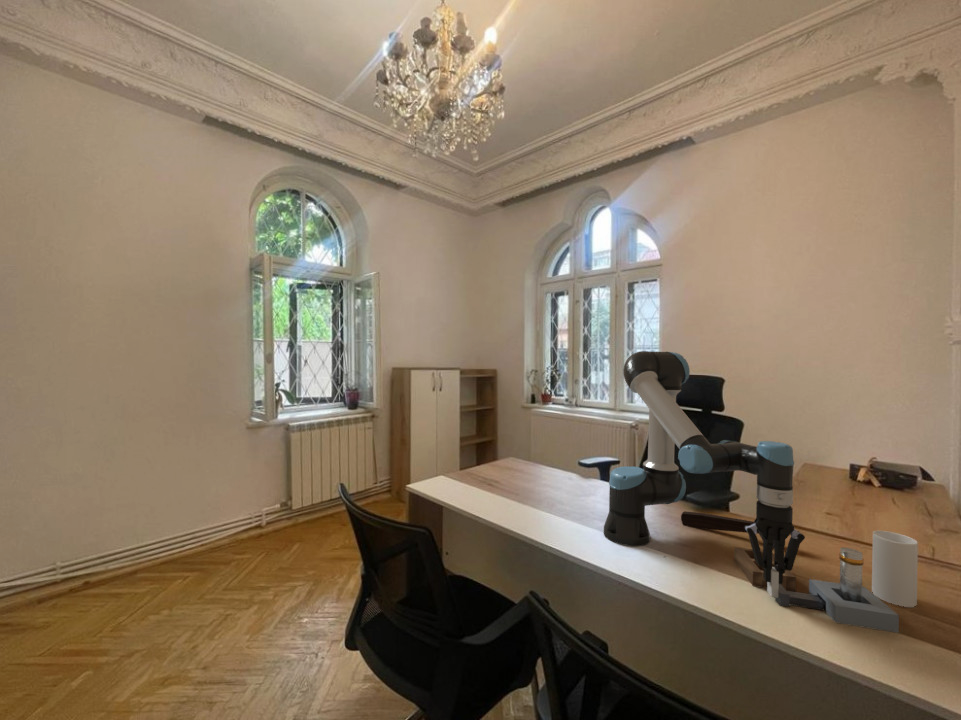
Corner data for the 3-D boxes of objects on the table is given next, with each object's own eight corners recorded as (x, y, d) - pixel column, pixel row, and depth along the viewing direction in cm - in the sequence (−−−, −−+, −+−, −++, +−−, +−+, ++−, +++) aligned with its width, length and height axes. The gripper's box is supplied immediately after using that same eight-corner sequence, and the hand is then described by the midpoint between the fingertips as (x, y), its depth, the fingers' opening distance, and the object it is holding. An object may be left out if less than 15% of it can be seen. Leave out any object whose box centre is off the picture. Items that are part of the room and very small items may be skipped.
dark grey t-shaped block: (780, 605, 100) (780, 593, 100) (771, 594, 105) (771, 582, 105) (827, 612, 98) (828, 600, 98) (816, 601, 102) (817, 589, 102)
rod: (845, 615, 97) (845, 553, 97) (834, 605, 101) (835, 546, 101) (867, 619, 96) (868, 556, 96) (855, 608, 100) (856, 548, 100)
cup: (863, 589, 109) (864, 530, 109) (890, 588, 109) (891, 530, 109) (897, 608, 100) (898, 544, 101) (926, 607, 101) (927, 543, 101)
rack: (752, 585, 109) (752, 571, 109) (734, 559, 124) (734, 546, 124) (795, 592, 107) (795, 577, 107) (771, 565, 121) (771, 551, 121)
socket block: (835, 622, 94) (835, 605, 94) (808, 594, 106) (809, 579, 106) (898, 632, 91) (898, 615, 91) (864, 602, 103) (864, 586, 103)
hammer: (682, 535, 149) (782, 550, 130) (678, 505, 150) (777, 514, 131) (685, 531, 153) (782, 545, 134) (681, 501, 154) (777, 510, 135)
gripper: (750, 504, 101) (749, 598, 101) (811, 511, 98) (810, 607, 97) (740, 495, 108) (738, 582, 108) (796, 501, 105) (795, 591, 105)
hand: (772, 594), depth 103 cm, fingers closed
